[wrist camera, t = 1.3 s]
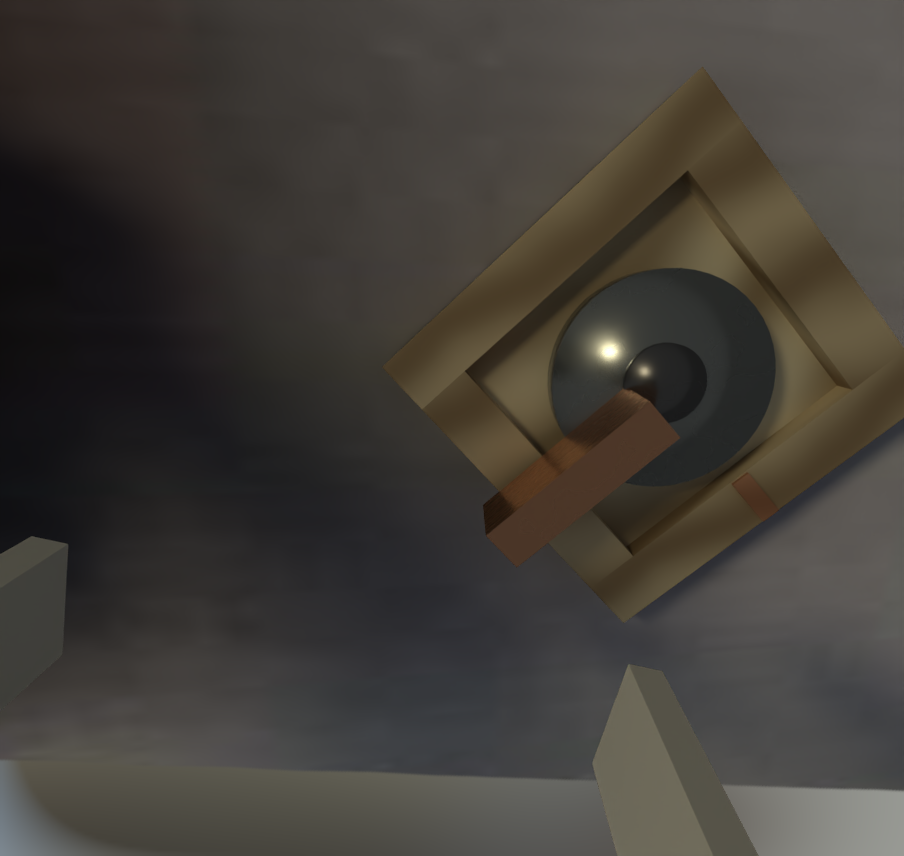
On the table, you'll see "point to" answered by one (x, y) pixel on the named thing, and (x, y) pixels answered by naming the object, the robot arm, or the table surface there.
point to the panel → (655, 247)
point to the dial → (640, 399)
